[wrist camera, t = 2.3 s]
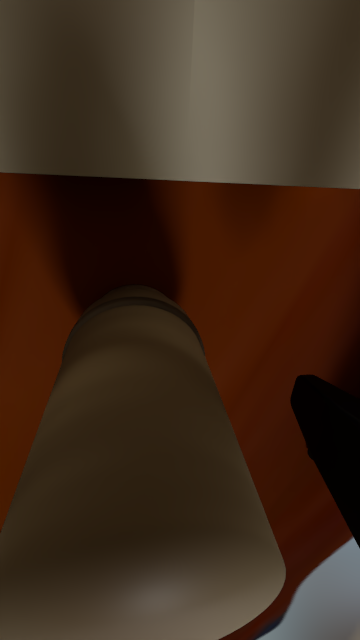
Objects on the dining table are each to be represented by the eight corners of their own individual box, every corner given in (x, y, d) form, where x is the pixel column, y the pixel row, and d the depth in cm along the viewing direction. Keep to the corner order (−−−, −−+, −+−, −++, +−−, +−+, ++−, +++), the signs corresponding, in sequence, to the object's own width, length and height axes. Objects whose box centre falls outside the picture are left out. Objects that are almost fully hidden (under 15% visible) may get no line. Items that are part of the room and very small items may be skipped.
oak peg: (83, 372, 11) (7, 692, 4) (70, 271, 10) (-99, 554, 3) (186, 367, 12) (262, 640, 5) (193, 271, 10) (328, 498, 3)
